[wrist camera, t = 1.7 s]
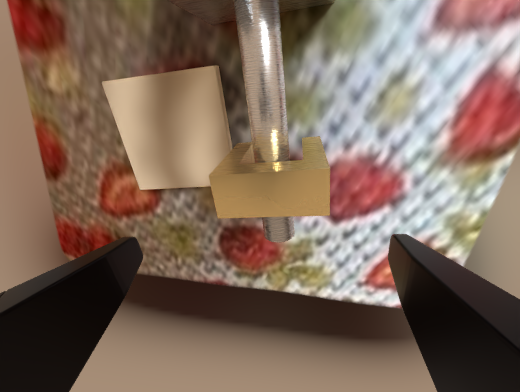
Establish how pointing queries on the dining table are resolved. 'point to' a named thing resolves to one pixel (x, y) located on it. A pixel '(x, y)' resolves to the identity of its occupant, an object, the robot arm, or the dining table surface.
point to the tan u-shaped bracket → (272, 184)
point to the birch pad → (172, 125)
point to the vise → (260, 78)
